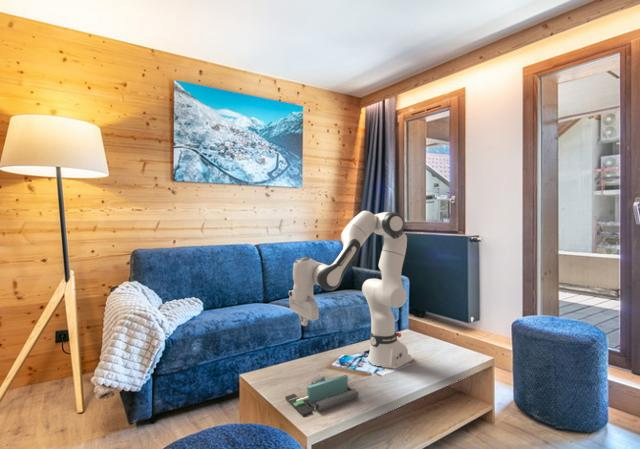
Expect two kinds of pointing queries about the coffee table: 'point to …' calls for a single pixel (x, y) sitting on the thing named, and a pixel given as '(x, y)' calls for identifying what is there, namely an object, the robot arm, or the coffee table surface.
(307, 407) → the gauge frame
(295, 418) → the coffee table surface
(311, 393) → the gauge plate
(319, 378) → the mineral specimen
